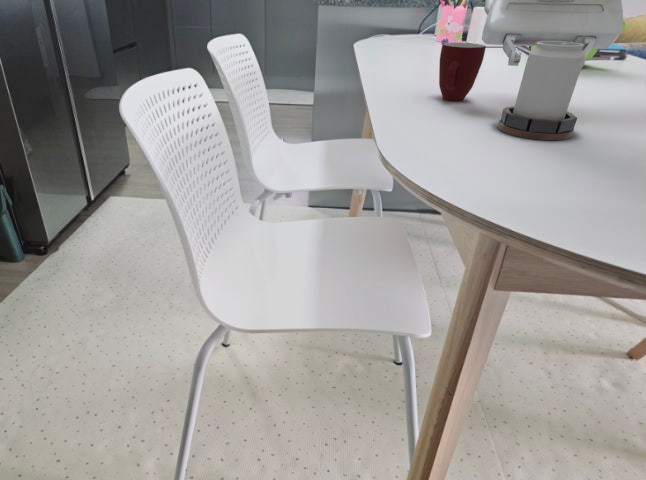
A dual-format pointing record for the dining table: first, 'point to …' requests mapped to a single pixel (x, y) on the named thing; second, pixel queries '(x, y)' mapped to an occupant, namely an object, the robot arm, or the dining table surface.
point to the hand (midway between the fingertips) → (545, 64)
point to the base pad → (536, 126)
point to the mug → (459, 69)
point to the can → (549, 80)
